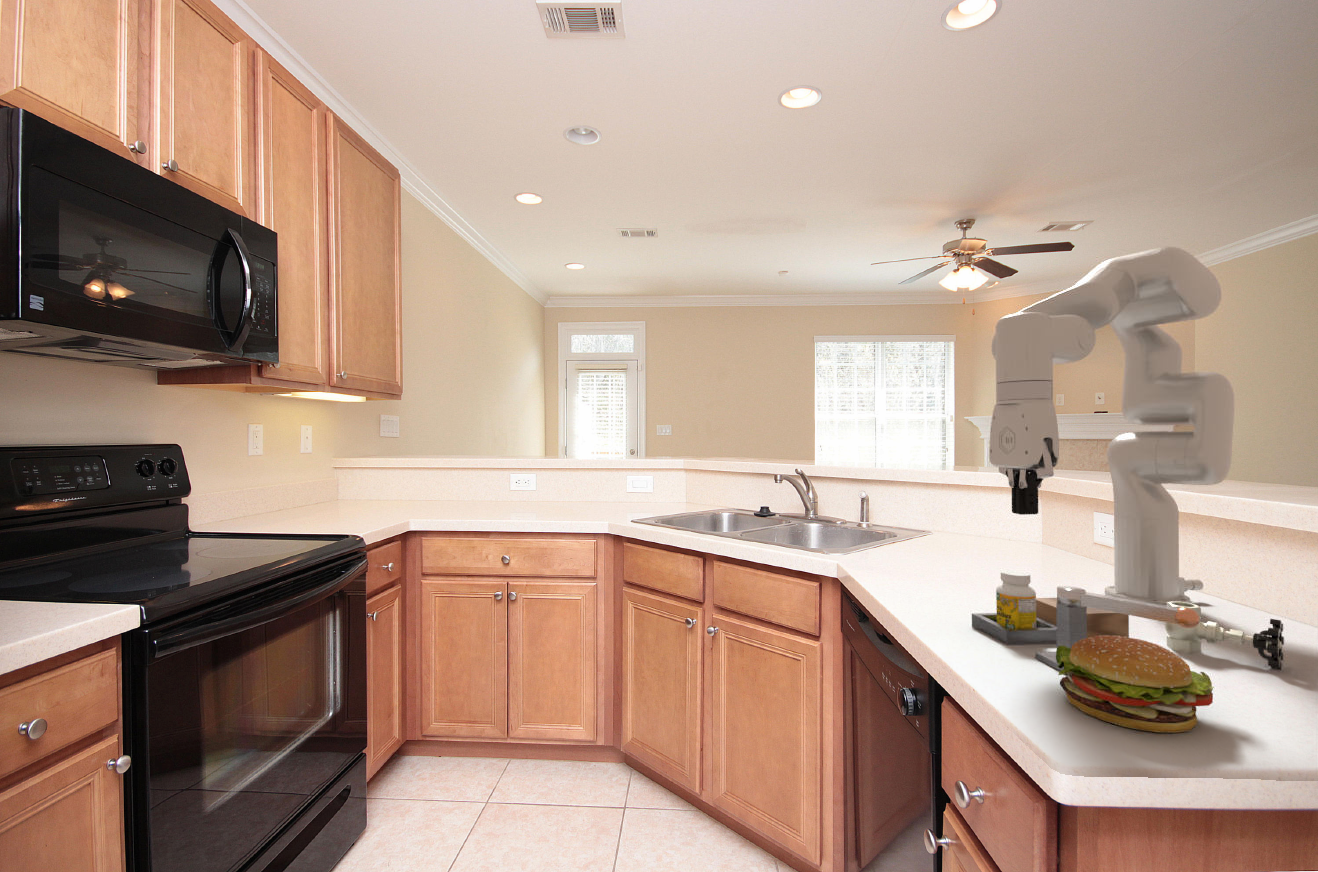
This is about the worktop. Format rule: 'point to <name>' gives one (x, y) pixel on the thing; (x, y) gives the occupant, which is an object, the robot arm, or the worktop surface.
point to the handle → (1127, 606)
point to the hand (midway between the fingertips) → (1025, 513)
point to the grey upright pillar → (1066, 631)
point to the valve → (1224, 637)
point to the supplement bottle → (1016, 601)
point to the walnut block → (1088, 619)
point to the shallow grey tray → (1015, 630)
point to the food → (1133, 683)
